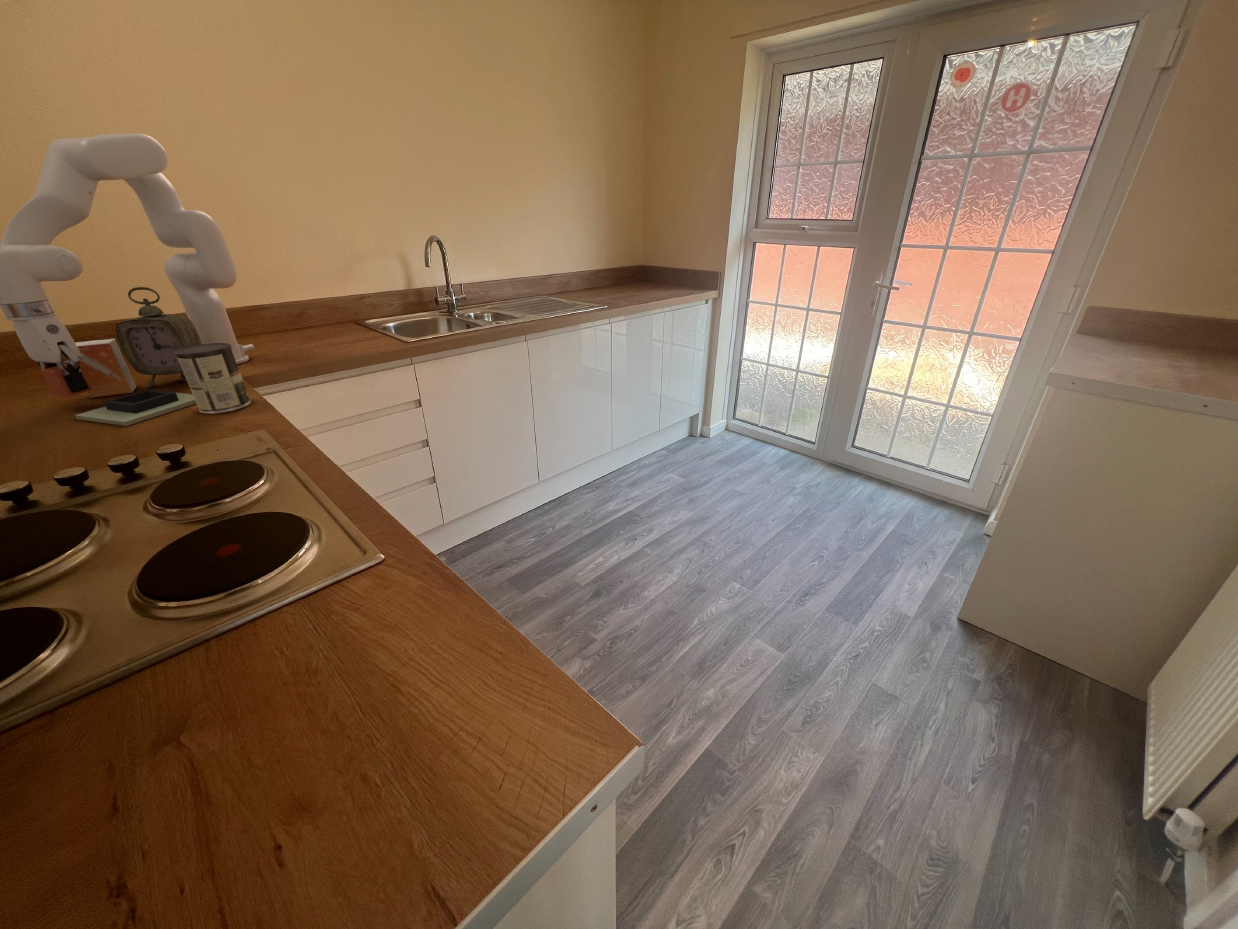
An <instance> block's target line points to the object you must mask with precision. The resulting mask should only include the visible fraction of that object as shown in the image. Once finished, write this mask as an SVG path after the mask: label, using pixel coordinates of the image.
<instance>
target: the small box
mask: <svg viewBox="0 0 1238 929" xmlns="http://www.w3.org/2000/svg"><path fill="white" fill-rule="evenodd" d="M75 344H76V345H77V347H78V349H79V351H80V352H81V354H82V357H81V358H80V360H81V362H80V366H81V367H82V369H83V371H84V373H85V375H86V377H87V379H88V381H89V383H90V384H91V386H92V388H93V390H91V391H87V392H88V394H89V397H90V398H91V399H93V398H101V397H107V396H117V395H123V394H124V395H125V394H133V393H134V391H135V390H136V388H137V385H136V382H135V380H134V378H133V376H132V374H131V371H130V369H129V367H128V364H127V362H126V360H125V359H124V356H123V354H122V351H121V350H120V346H119V345H118V343H117V340H116V338H109V339H107V338H106V339H95V340H87V341H79V342H75Z"/></svg>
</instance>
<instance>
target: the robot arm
mask: <svg viewBox="0 0 1238 929" xmlns="http://www.w3.org/2000/svg"><path fill="white" fill-rule="evenodd" d="M168 165H169V156H168V153H167V151H166V149H165V147H164V146H163V145H162V144H161V143H160V142H159V141H158V140H157V139H155V138H154V137H152V136H150V135H148V134H145V133H141V132H133V133H132V132H127V133H125V132H124V133H103V134H101V133H100V134H96V135H94V136H91V137H90V136H89V137H87V136H86V137H65V138H64V137H63V138H58V139H55V140H53V141H52V142H51V143H49V146H48V147H47V151H46V154H45V157H44V161H43V163H42V168H41V171H40V173H39V174H40V175H39V178H38V181H37V184H36V188H35V191H34V193H33V195H32V197H30V198H29V200H28V201H26V202H25V203H24V204H23V205H22V207H21V208H20V209H19V210H18V211H17V212H16V213H15V214H14V215H13V216H12V218H11V219H10V220H9V222H8V223H7V224H6V226H5V228H4V231H3V234H2V237H1V241H0V309H1V311H2V313H3V314H4V316H5V318H6V320H7V321H10V322H11V324H12V326H13V329H14V331H15V334H16V336H17V337H18V339H19V341H20V343H21V345H22V347H23V349H24V351H25V353H26V354H27V355H28V357H29V358H30V359H31V360H33V361H34V362H35V363H36V364H37V365H38V366H39V367H40V368H41V370H42V369H46V368H51V367H55V366H58V367H59V368H60V369H61V371H62V372H63V374H64V375H65V376H63V378H64V380H65V381H66V383H67V385H68V387H69V389H70V390H71V392H74V393H75V392H79V391H83V390H86V389H89V386H88V385H87V383H86V381H85V379H84V377H83V375H82V373H81V372H82V371H81V369H80V362H81V360H80V358H81V357H82V354H81V352H80V351H79V349H78V347H77V345H76V344H75V343H76V342H75V340H74V339H73V337H72V336H71V334H70V332H69V330H68V329H67V327H66V326H65V324H64V323H63V322H62V320H61V319H60V318H59V317H58V315H57V313H56V311H55V309H54V307H53V305H52V303H51V301H50V299H49V297H48V295H47V293H46V291H45V290H44V288H43V286H42V284H41V283H42V282H68V281H72V280H74V279H76V278H78V277H80V275H81V274H82V272H83V269H84V268H83V263H82V260H81V259H80V257H79V256H78V255H77V254H76V253H75V252H73V251H71V250H70V249H67V248H66V247H62V246H59V245H52V242H53V241H54V240H55V239H56V238H57V237H58V236H59V235H60V234H61V233H63V232H64V231H67V230H69V229H70V228H72V227H75V226H77V225H78V224H80V223H82V222H84V221H85V220H86V219H88V218H89V217H90V215H91V210H92V206H93V202H94V200H95V195H96V192H97V188H98V184H99V182H100V181H119V180H121V181H122V180H123V181H124V182H125V183H126V184H127V185H128V186H129V187H131V189H132V190H133V192H134V193H135V195H136V196H137V198H138V200H139V202H140V204H141V206H142V208H143V210H144V213H145V214H146V217H147V220H148V222H149V224H150V226H151V228H152V230H153V232H154V235H155V237H156V238H157V239H158V241H160V243H162V244H163V245H164V246H166V247H170V248H173V249H175V248H176V249H194V251H195V252H178V253H173V254H172V255H170V256H168V257H167V258H166V259H165V263H164V272H165V274H166V277H167V278H168V280H169V282H170V283H171V285H172V287H173V288H174V290H175V292H176V293H177V295H178V298H179V299H180V301H181V304H182V307H183V309H184V312H185V314H186V317H187V318H189V319H190V321H191V322H192V323H193V325H194V326H195V328H196V330H197V333H198V335H199V337H200V340H201V343H202V344H209V343H228V344H230V345H231V349H232V352H233V355H234V358H235V360H236V363H237V365H240V364H244V363H246V362H248V361H249V360H250V357H249V355H248V354H246V353H247V352H251V351H254V350H255V346H254V344H252V343H250V344H246V345H242V344H239V343H238V341H237V337H236V335H235V333H234V329H233V327H232V323H231V321H230V318H229V315H228V312H227V310H226V306H225V304H224V302H223V300H222V297H221V296H220V295H219V294H218V292H216V290H215V289H221V290H222V289H229V288H231V287H233V286H234V285H235V284H236V282H237V279H238V278H237V277H238V274H237V268H236V266H235V263H234V261H233V260H234V259H233V258H232V255H231V252H230V250H229V247H228V244H227V242H226V240H225V237H224V234H223V232H222V230H221V228H220V226H219V225H218V223H217V222H216V220H214V218H213V217H211V215H209V214H208V213H206V212H204V211H201V210H197V209H185V207H184V206H183V203H182V200H181V199H180V197H179V195H178V193H177V191H176V188H175V187H174V185H173V183H172V182H171V181H170V180H169V179H168V178H167V177H166V176H165V175H164V174H163V173H162V172H164V171H165V170H166V169H167V167H168ZM64 359H66V360H64ZM64 364H67V367H65V366H64Z"/></svg>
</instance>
